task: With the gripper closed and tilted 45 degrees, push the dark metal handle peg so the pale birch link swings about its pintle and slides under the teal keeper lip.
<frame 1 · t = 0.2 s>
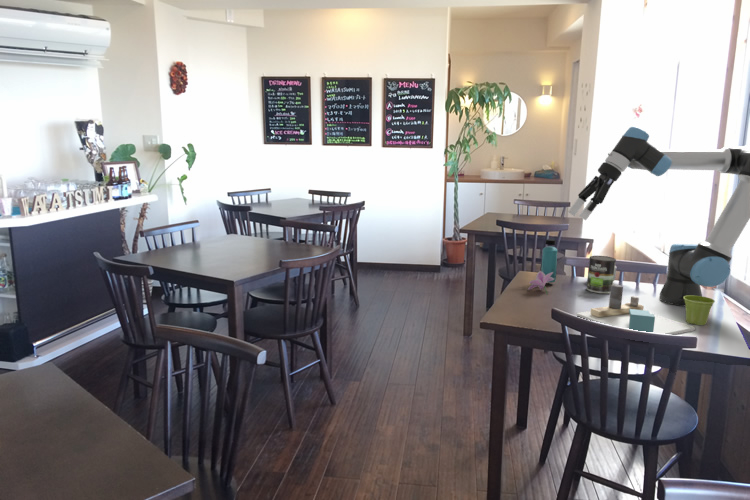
hand: (576, 216, 201), 35 cm above the table, tool tilted 35°, fingers open, 13 cm apart
coffee can: (599, 290, 233), on the table
base board: (633, 322, 191), on the table
teacup: (601, 282, 247), on the table
keeper: (633, 313, 201), resting on base board
lily: (540, 292, 230), on the table
plant pot: (695, 323, 192), on the table
beverage bottle: (547, 284, 243), on the table
link: (618, 299, 197), point 6 cm above the table, hinge at -5.0°
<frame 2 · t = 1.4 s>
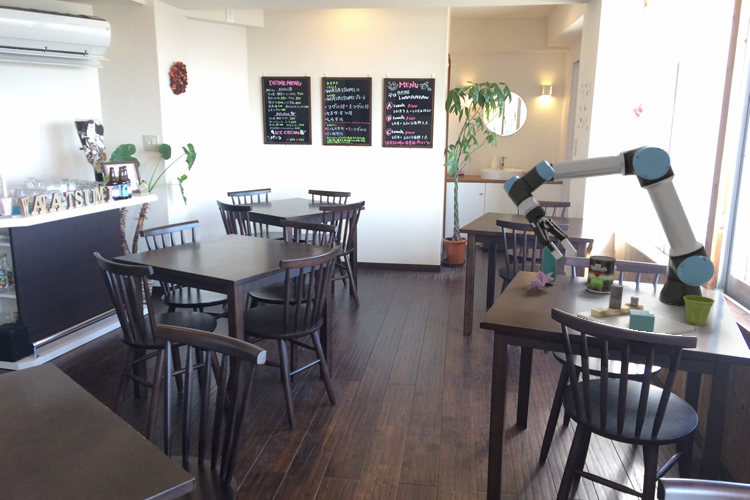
hand: (566, 255, 207), 19 cm above the table, tool tilted 45°, fingers open, 11 cm apart
nothing on the table moved.
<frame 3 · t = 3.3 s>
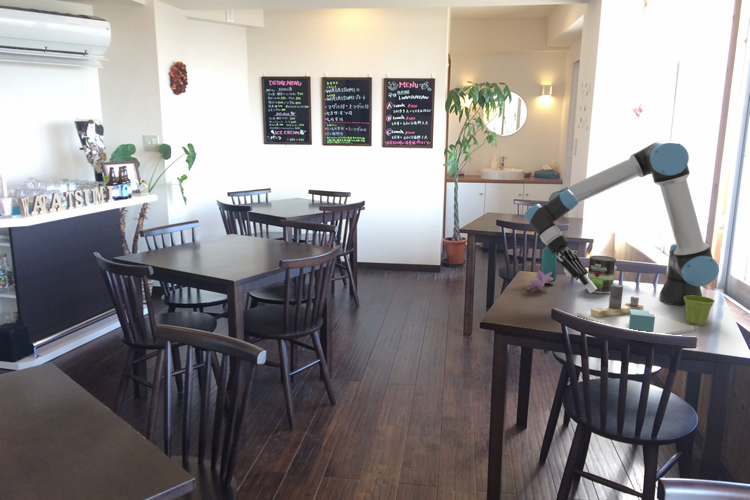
hand: (593, 290, 202), 8 cm above the table, tool tilted 45°, fingers closed
nothing on the table moved.
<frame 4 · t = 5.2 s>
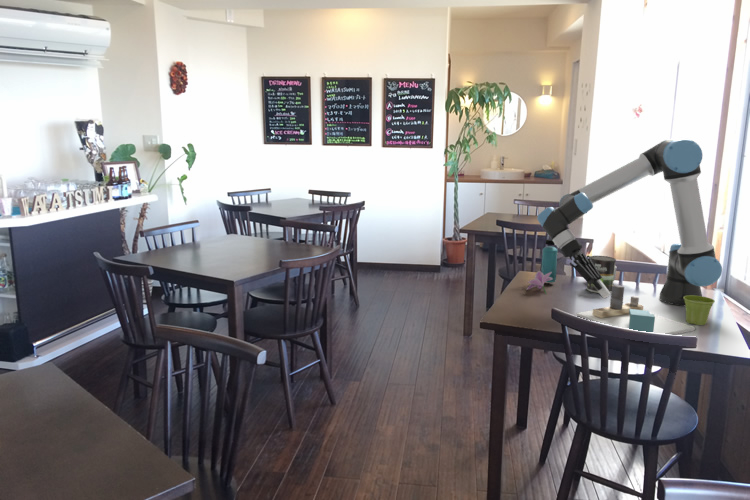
hand: (607, 296, 198), 7 cm above the table, tool tilted 45°, fingers closed
link: (619, 299, 197), point 6 cm above the table, hinge at -1.6°, touching gripper
everything else where it was.
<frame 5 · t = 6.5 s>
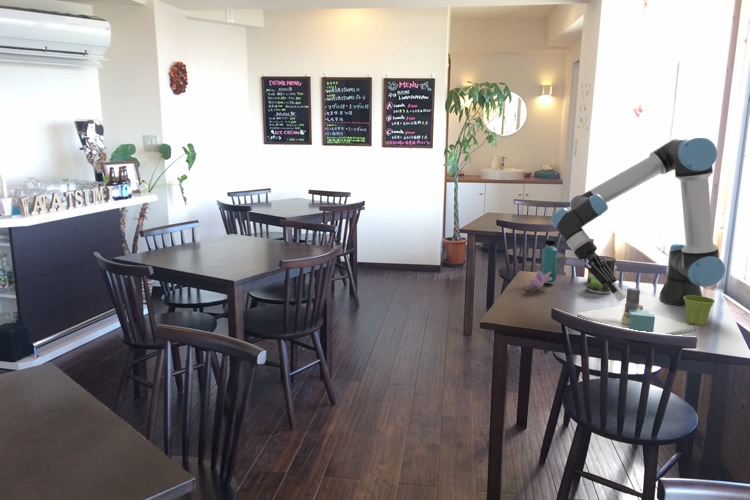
hand: (622, 299, 194), 7 cm above the table, tool tilted 45°, fingers closed
link: (632, 302, 194), point 6 cm above the table, hinge at 33.7°, touching gripper
everything else where it was.
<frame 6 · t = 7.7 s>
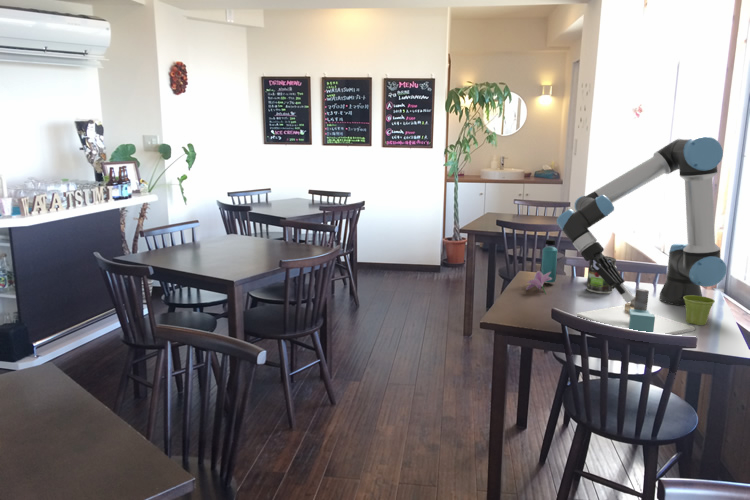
hand: (630, 300, 193), 7 cm above the table, tool tilted 45°, fingers closed
link: (639, 303, 193), point 6 cm above the table, hinge at 51.2°, touching gripper
everything else where it was.
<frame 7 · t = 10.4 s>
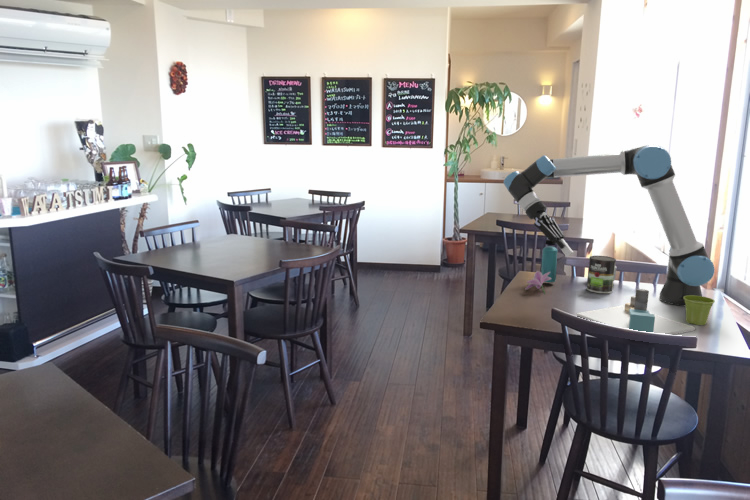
hand: (570, 254, 207), 20 cm above the table, tool tilted 45°, fingers closed
link: (639, 303, 193), point 6 cm above the table, hinge at 51.4°
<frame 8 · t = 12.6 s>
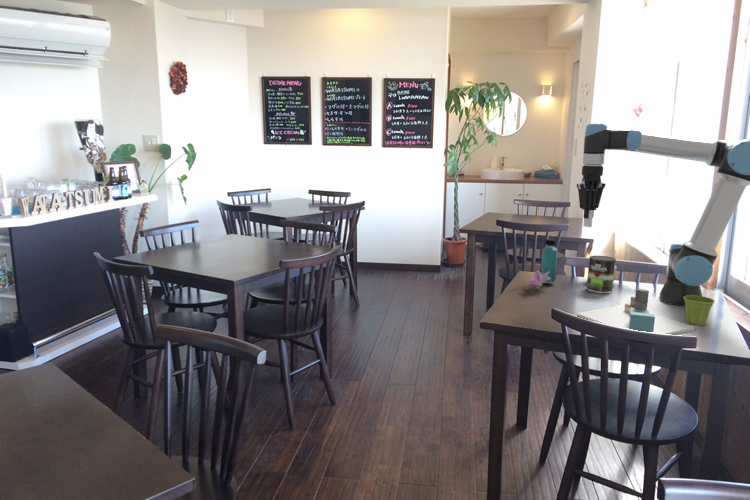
hand: (587, 226, 214), 29 cm above the table, tool pointing down, fingers closed
at the end: link at +51° (first picture: -5°) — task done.
